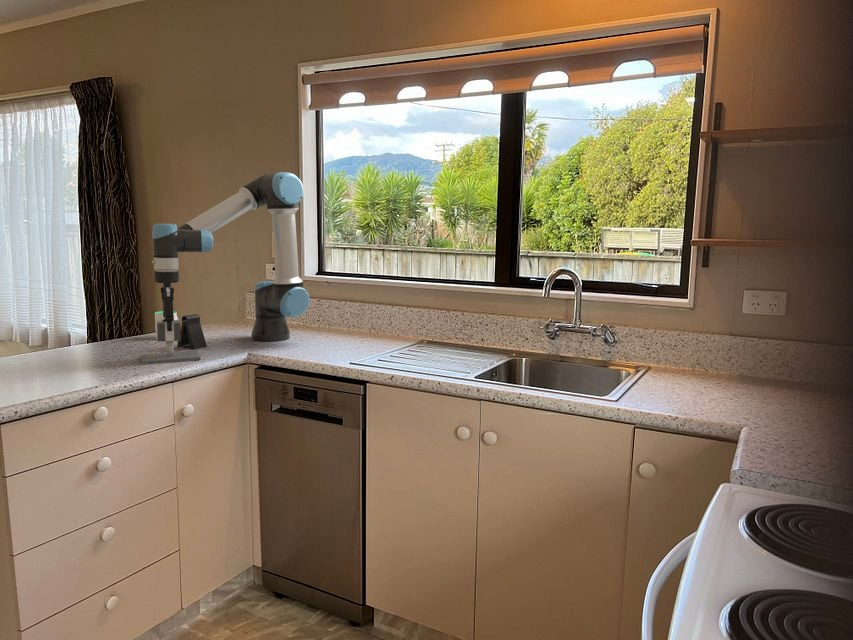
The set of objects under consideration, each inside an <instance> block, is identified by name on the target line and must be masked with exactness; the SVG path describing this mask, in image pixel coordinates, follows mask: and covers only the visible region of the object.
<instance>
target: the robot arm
mask: <svg viewBox="0 0 853 640" xmlns="http://www.w3.org/2000/svg"><path fill="white" fill-rule="evenodd" d="M304 192H305V191H304V186H303V182H302V181H301V179H300V178H299V177H298V176H297V175H296V174H294V173H291V172H285V171H281V172H274V173H264V174H261V175H260V176H258V177H256V178H254V179H253V180H251V181H250V182H248V183H246V184H245V185H242V187H240V188H239V190H238V192H237V193H234V194H233V195H231V196H230V197H228V198H227V199H225V200H223V201H221V202H219V203H218V204H216V205H215V206H212V207H211V208H209V209H207V210H206V211H204V212H202V213H201V214H199V215H198V216H196V217H194V218H193V219H190V220H189V221H188V222H185V223H184V224H182V225H180V226H177V224H176V223H154V224H153V226H152V233H151V234H152V236H151V239H152V248H153V249H152V250H153V260H151V263H152V264H153V269H154V272H153V273H154V274H153V275H154V282H155V283H156V284H162V287H160V294H161V301H162V309H163V310H162V311H163V317H164V320H163V322H165V341H164V342H166V341H173V342H175V341H174V321H173V320H174V315H173V311H174V300H175V299H174V297H175V296H174V293H175V288H174V287H172V284H176V283H179V281H180V278H179V277H180V275H179V273H180V272H179V271H178V270H179V268H180V267H179V253H209V252H211V251H212V249H213V248H214V236H213V234H212V233H214V232H215V231H217V230H219V229H221V228H223V227H224V226H226V225H227V224H229V223H230V222H232V221H234V220H236V219H237V218H239V217H240V216H242V215H244V214H245V213H247V212H249V211H256V210H257V209H259V208H261V207H265V206H266V209H267V210H266V211H268V212H269V213H270V214H271V222H272V237H273V251H274V253H273V255H274V269H275V270H274V271H275V278H274V280H271V281H260V282H256V283H255V285H254V307H255V308H254V309H255V320H254V324H253V327H252V329H251V340H254V341H260V342H277V341H285V340H288V339H290V338H291V332H290V328H289V326H288V323H287V319H286V318H287V317H288V318H297V317H300V316H302V315H304V314H305V312H306V311H307V310H308V309H309V307H310V301H311V299H310V294H309V292H308V291H307V290H306V289H305V288H304V281H303V279H302V278H301V277H300V275H299V273H300V272H299V258H298V241H297V240H298V239H297V225H296V213H297V212H298V211H299V209H300V206H299V203H300V201H301V200H302V199H303V198H304V195H305V194H304Z"/></svg>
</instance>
